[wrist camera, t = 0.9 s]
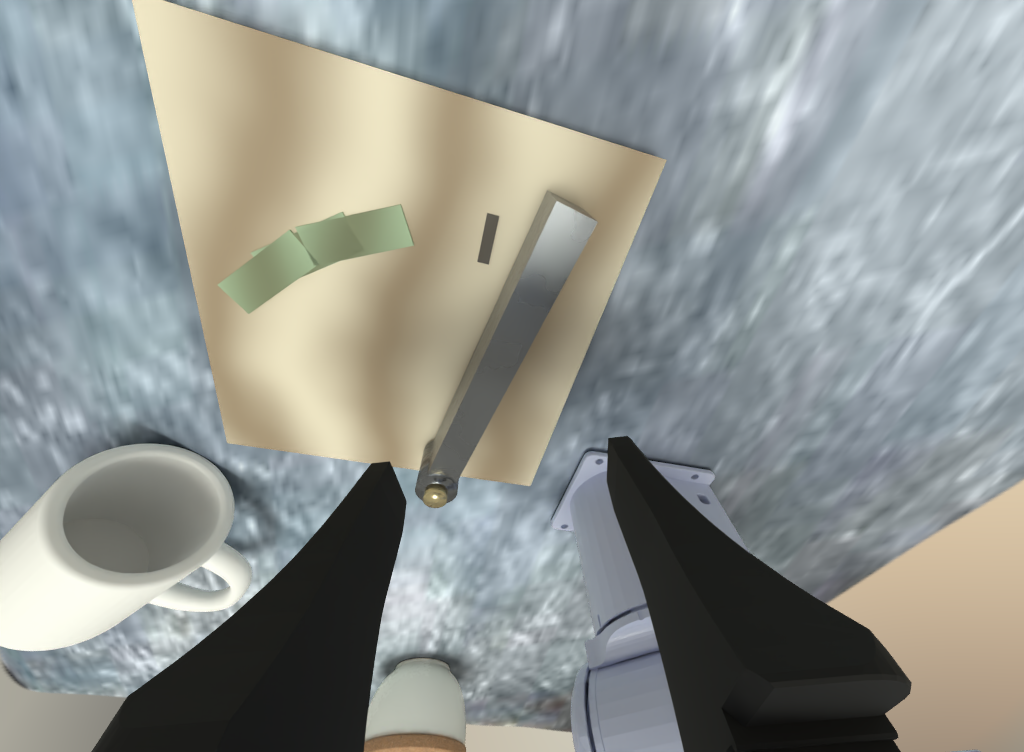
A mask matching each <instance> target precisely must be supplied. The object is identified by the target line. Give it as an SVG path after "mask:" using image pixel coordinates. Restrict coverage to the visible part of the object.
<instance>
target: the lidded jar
mask: <svg viewBox="0 0 1024 752" xmlns="http://www.w3.org/2000/svg"><path fill="white" fill-rule="evenodd" d="M465 736H466V716H465V705H464V698H463V694H462V691H461V688H460V686H459V683H458V681H457V680H456V678H455V677H454V675H453V674H452V673H451V672H450V667H449V665H448V664H446V663H445V662H443V661H440V660H437V659H432V658H413V659H408V660H405V661H402V662H400V663H399V664H398V665H397V666H396V669H395V670H394V671H393V672H392V673H391V674H390V675H388V676H387V677H386V679H385V680H384V681H383V682H382V683H381V685H380V686H379V688H378V689H377V691H376V693H375V695H374V697H373V698H372V701H371V703H370V706H369V708H368V716H367V724H366V733H365V744H364V752H466V747H465Z"/></svg>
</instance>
